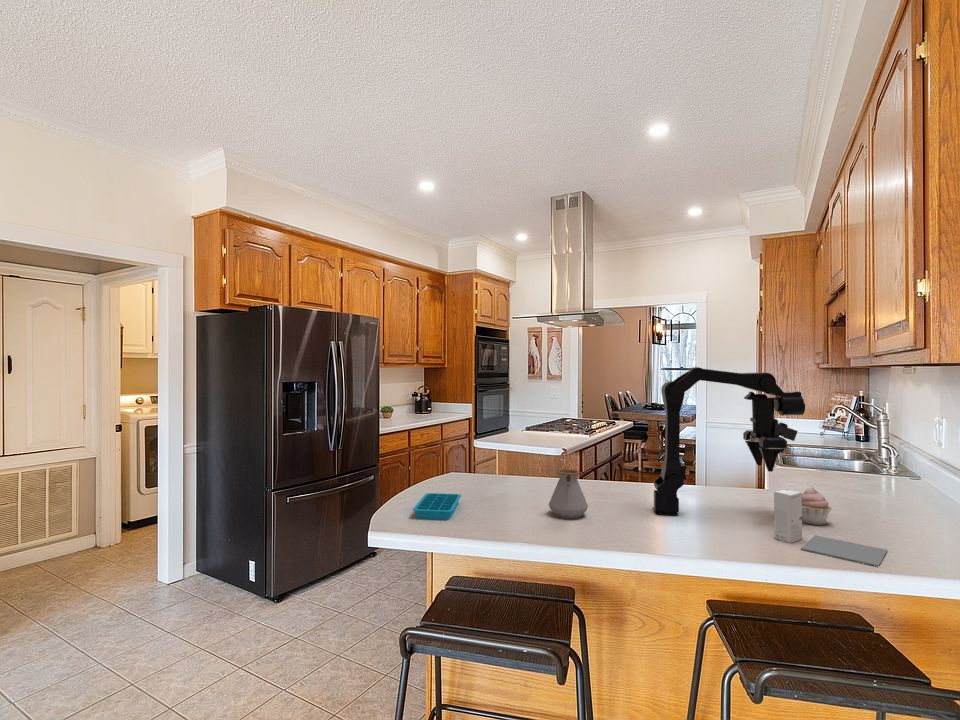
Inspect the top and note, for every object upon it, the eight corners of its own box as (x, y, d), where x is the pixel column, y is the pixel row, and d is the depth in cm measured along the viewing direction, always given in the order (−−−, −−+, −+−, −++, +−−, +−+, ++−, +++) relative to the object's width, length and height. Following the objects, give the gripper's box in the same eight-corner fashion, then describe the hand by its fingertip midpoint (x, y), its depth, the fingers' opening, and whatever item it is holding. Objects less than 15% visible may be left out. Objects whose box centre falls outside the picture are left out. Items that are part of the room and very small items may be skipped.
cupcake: (818, 529, 141) (818, 492, 142) (786, 519, 150) (786, 485, 150) (839, 524, 145) (839, 489, 146) (806, 516, 154) (806, 482, 154)
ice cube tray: (411, 520, 148) (411, 510, 148) (426, 502, 168) (426, 492, 168) (452, 522, 146) (452, 511, 146) (461, 503, 166) (461, 494, 167)
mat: (800, 549, 125) (800, 548, 125) (814, 536, 135) (814, 535, 135) (878, 567, 114) (878, 565, 114) (887, 551, 124) (887, 549, 124)
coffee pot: (549, 508, 160) (549, 460, 160) (587, 510, 158) (587, 461, 158) (546, 529, 139) (546, 474, 139) (590, 532, 137) (590, 475, 137)
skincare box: (791, 543, 130) (791, 495, 130) (773, 538, 133) (773, 491, 133) (803, 539, 133) (803, 492, 133) (785, 534, 137) (785, 488, 137)
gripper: (807, 418, 141) (808, 475, 141) (781, 412, 159) (782, 463, 159) (762, 418, 143) (764, 474, 143) (742, 412, 161) (743, 462, 161)
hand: (764, 468), depth 151 cm, fingers open, 9 cm apart
